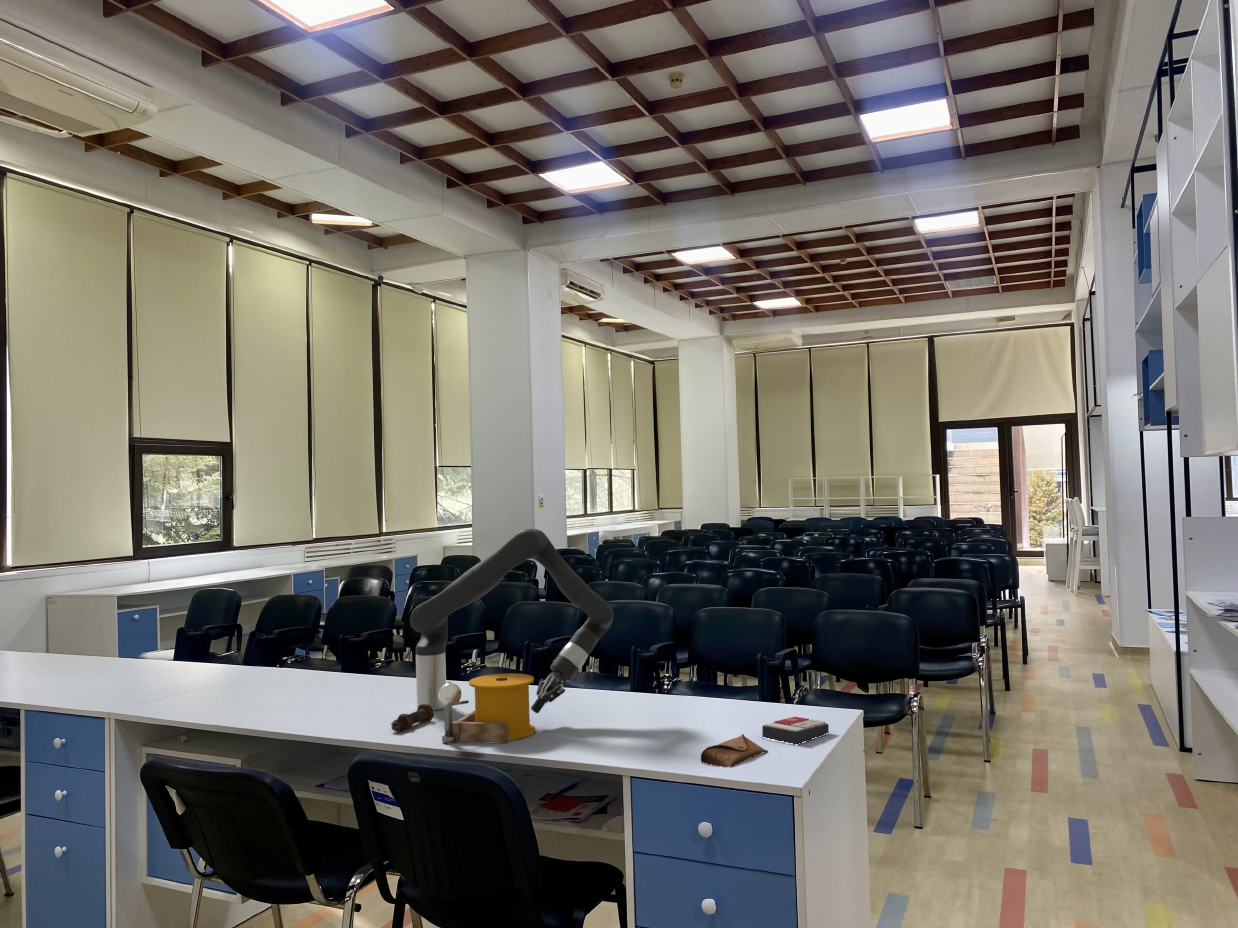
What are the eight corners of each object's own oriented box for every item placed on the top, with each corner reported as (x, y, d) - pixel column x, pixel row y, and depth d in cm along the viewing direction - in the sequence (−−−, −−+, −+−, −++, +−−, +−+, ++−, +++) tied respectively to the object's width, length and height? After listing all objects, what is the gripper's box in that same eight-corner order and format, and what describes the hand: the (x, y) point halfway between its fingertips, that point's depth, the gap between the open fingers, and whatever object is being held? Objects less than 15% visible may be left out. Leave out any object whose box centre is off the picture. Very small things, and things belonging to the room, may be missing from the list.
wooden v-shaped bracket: (464, 750, 232) (463, 731, 232) (437, 733, 251) (437, 715, 251) (508, 742, 238) (508, 723, 239) (479, 726, 257) (479, 709, 257)
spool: (482, 724, 259) (480, 672, 260) (542, 725, 257) (540, 672, 257) (461, 741, 242) (459, 685, 242) (525, 741, 239) (524, 685, 239)
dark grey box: (829, 720, 238) (796, 729, 227) (829, 737, 237) (796, 746, 227) (794, 714, 245) (761, 722, 235) (794, 730, 245) (761, 739, 235)
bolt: (393, 739, 254) (425, 724, 267) (405, 731, 252) (437, 717, 266) (384, 720, 255) (416, 707, 268) (396, 713, 253) (428, 699, 267)
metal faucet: (441, 745, 238) (439, 685, 238) (436, 742, 241) (434, 682, 242) (472, 740, 242) (471, 680, 243) (467, 737, 246) (465, 678, 247)
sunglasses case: (729, 768, 209) (716, 741, 212) (709, 779, 213) (696, 752, 215) (770, 750, 223) (757, 725, 225) (750, 761, 227) (738, 736, 229)
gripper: (550, 651, 265) (515, 699, 258) (571, 656, 254) (535, 707, 247) (567, 666, 268) (533, 714, 261) (588, 672, 256) (553, 723, 250)
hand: (534, 711), depth 254 cm, fingers closed
